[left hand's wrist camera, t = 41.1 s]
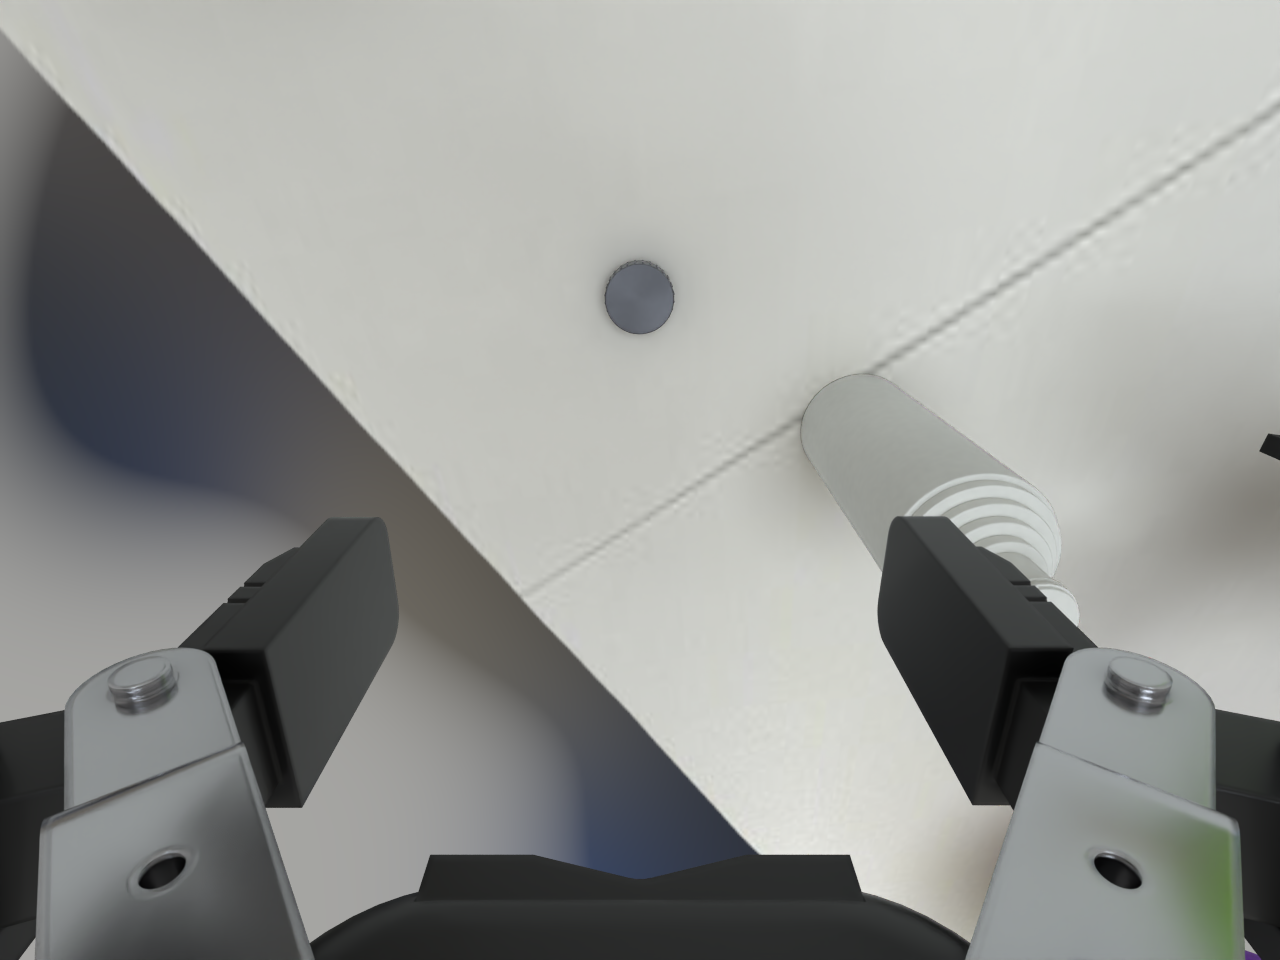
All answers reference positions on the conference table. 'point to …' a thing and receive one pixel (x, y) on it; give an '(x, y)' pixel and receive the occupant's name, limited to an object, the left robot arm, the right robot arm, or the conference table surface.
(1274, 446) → the right robot arm
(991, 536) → the bottle
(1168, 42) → the conference table surface
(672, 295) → the cap
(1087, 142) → the conference table surface
